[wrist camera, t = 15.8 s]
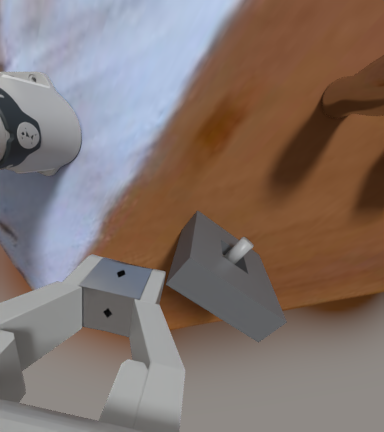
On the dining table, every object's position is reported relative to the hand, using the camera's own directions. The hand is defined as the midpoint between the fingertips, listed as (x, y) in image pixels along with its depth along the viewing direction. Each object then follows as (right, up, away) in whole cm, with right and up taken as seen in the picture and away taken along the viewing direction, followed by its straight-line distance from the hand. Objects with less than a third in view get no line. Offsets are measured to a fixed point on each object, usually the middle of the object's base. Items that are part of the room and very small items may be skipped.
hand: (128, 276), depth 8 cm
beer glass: (+28, +22, +26) cm, 44 cm away
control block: (+9, -4, +38) cm, 39 cm away
